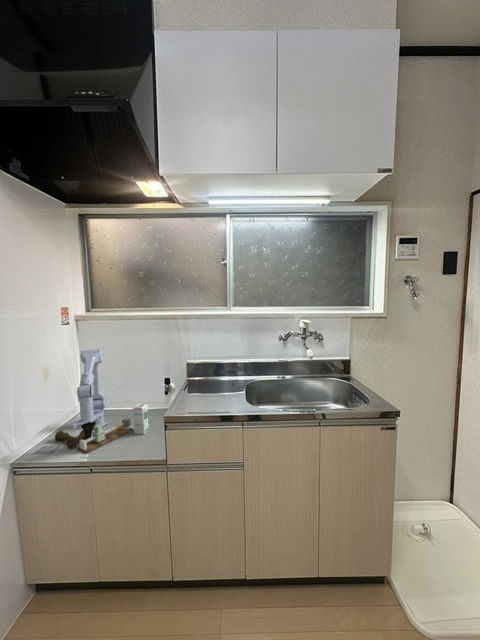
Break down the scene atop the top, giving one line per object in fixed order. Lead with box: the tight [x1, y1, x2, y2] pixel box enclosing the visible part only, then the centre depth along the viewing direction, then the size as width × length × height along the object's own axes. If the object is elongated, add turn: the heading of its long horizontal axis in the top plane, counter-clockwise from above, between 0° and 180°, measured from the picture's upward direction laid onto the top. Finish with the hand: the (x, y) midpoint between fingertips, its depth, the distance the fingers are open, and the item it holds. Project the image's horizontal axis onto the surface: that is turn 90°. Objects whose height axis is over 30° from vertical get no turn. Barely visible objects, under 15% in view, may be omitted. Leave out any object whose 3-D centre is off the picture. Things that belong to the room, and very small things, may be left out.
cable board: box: [75, 426, 134, 454], centre depth 159 cm, size 27×8×1 cm, turn 149°
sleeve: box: [92, 424, 106, 442], centre depth 155 cm, size 4×4×7 cm
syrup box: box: [132, 403, 150, 435], centre depth 167 cm, size 6×6×14 cm
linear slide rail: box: [79, 417, 132, 450], centre depth 160 cm, size 27×4×5 cm, turn 149°
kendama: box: [54, 429, 89, 450], centre depth 156 cm, size 6×10×20 cm
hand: (88, 437), depth 151 cm, fingers closed
